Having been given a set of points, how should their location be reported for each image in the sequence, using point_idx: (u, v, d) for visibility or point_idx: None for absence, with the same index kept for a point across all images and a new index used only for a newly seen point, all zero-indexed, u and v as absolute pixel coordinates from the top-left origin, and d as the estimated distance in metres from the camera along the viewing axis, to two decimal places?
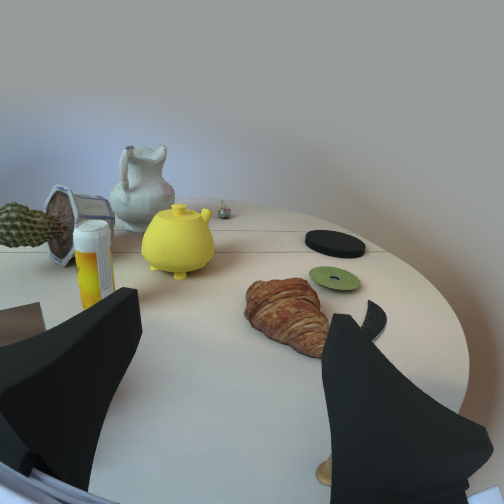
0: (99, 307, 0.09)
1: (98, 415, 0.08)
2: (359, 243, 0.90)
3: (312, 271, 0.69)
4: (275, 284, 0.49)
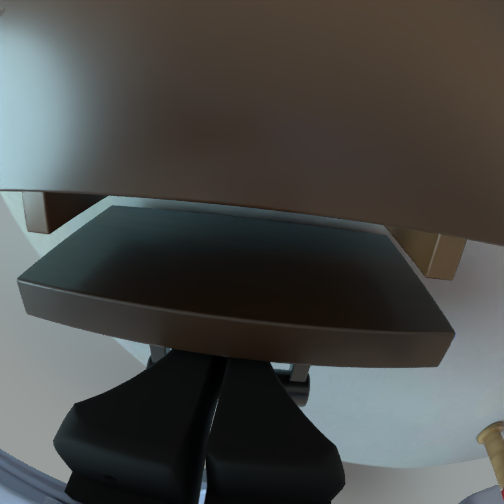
0: None
1: (206, 440, 0.08)
2: None
3: None
4: None
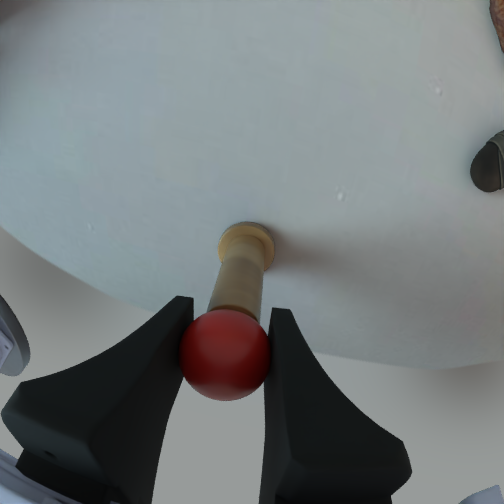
0: (162, 318, 0.09)
1: (160, 432, 0.08)
2: None
3: None
4: None
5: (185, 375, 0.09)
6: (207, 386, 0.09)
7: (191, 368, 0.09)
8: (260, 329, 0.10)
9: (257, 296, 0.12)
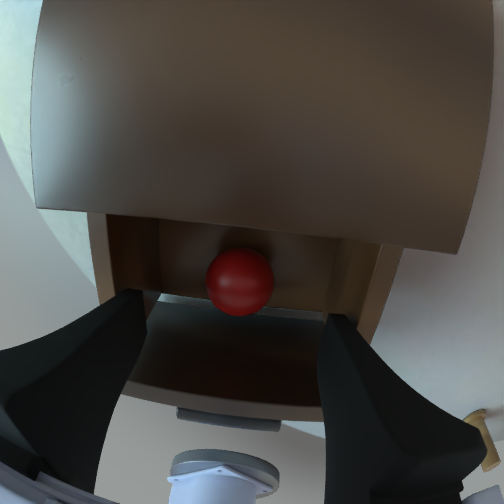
0: (105, 308, 0.09)
1: (104, 417, 0.08)
2: None
3: None
4: None
5: (211, 293, 0.13)
6: (228, 298, 0.13)
7: (216, 285, 0.13)
8: (265, 259, 0.14)
9: None
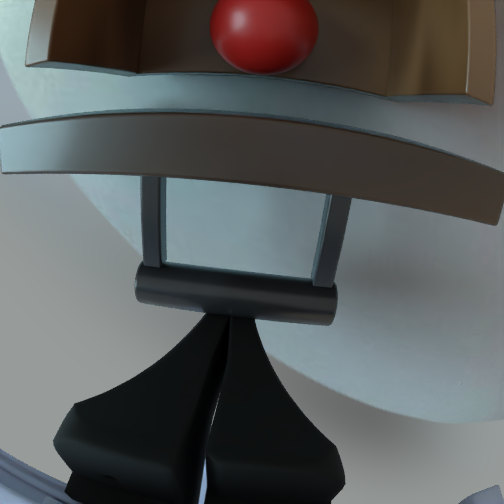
0: (208, 326, 0.09)
1: (206, 440, 0.08)
2: None
3: None
4: None
5: (221, 40, 0.07)
6: (251, 42, 0.06)
7: (230, 24, 0.06)
8: None
9: None
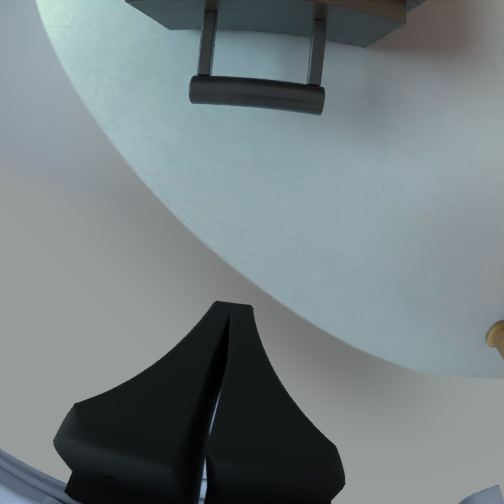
0: (208, 325, 0.09)
1: (206, 440, 0.08)
2: None
3: None
4: None
5: None
6: None
7: None
8: None
9: None
